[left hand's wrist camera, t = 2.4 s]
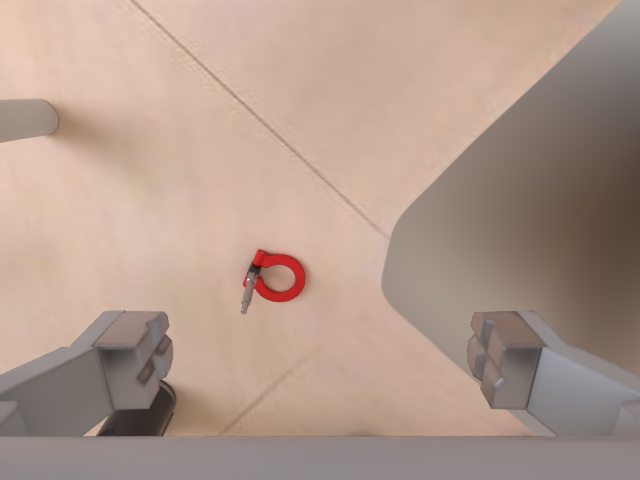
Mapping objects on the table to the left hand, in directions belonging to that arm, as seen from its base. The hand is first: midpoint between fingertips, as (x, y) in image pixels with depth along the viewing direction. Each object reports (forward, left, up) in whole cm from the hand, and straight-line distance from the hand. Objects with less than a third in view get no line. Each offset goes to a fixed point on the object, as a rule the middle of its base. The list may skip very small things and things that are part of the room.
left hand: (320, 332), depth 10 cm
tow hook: (+22, -7, -48) cm, 53 cm away
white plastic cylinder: (-2, -39, -48) cm, 62 cm away
